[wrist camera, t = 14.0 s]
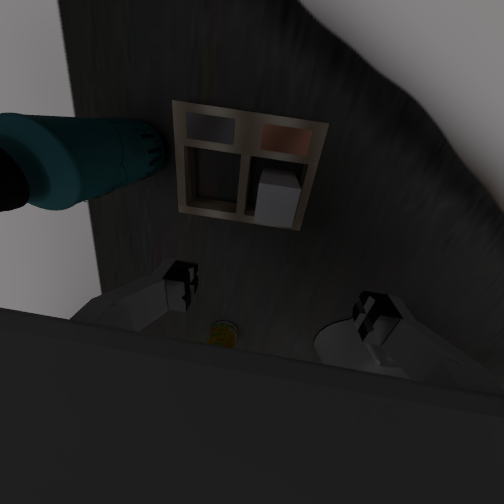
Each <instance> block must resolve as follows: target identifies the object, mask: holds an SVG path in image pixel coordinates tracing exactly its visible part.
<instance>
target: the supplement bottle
mask: <svg viewBox="0 0 504 504" xmlns="http://www.w3.org/2000/svg"><path fill="white" fill-rule="evenodd" d="M236 338H237V328H236V326H235V325H233V324H232V323H230V322H227V321H220V322H217V323H216V324H214V326H213V328H212V331H211V335H210V338H209V341H208V344H211V345H217V346H223V347H229V348H234V349H235V343H236Z"/></svg>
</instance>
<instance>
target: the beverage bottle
mask: <svg viewBox="0 0 504 504" xmlns="http://www.w3.org/2000/svg"><path fill="white" fill-rule="evenodd" d="M115 118H116V117H114V118H111V116H110V118H106V117H105V118H79V117H59V116H40V115H23V114H17V113H1V114H0V212H2V211H9V210H13V209H17V208H20V207H22V206H24V205H25V204H26V203H29V204H31V205H34V206H37V207H39V208H43V209H47V210H64V209H67V208H70V207H72V206H74V205H75V204H77V203H80V202H82V201H84V202H86V201H85V200H89V199H91V198H95V197H96V198H98V197H97V196H99V195H101V194H104V193H106V192H108V193H110V192H111V191H113V190H114V189H116V188H117V189H118V188H119V189H121V188H120V187H121V186H124V187H126V186H125V185H128V184H129V183H132V182H134V181H136V182H137V180H140V179H141V180H142V179H144V178H145V179H146V178H147V177H149V176H152V175H154V173H156V172H158V171H159V170H160V169H162V168H161V167H163V166H162V165H163V163H164V160H165V148H164V144H163V141H162V139H161V138H160V136H159V134H158V133H157V132H156V131H155V130H154V129H153V128H152V127H151V126H149V125H148V123H145V122H142V121H143V120H142V121H141V120H135V119H129V117H128V119H124V118H123V119H119V118H118V119H115ZM134 183H135V182H134ZM130 185H131V184H130ZM109 191H110V192H109ZM114 191H115V190H114ZM105 195H106V194H105ZM100 197H101V196H100Z"/></svg>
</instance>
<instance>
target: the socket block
mask: <svg viewBox="0 0 504 504" xmlns="http://www.w3.org/2000/svg"><path fill="white" fill-rule="evenodd" d="M172 106H173V123H174V139H175V156H176V172H177V189H178V205H179V212H182V213H188V214H195V215H201V216H207V217H214V218H220V219H227V220H233V221H239V222H246V223H252V224H259V225H265V226H271V227H278V228H284V229H291V230H297V231H300V228H301V224H302V221H303V217H304V214H305V210H306V206H307V203H308V199H309V195H310V192H311V188H312V184H313V181H314V177H315V174H316V170H317V166H318V163H319V159H320V155H321V152H322V148H323V144H324V141H325V137H326V133H327V130H328V126H329V123H322V122H315V121H309V120H302V119H295V118H289V117H282V116H275V115H268V114H262V113H255V112H248V111H242V110H235V109H228V108H222V107H215V106H208V105H201V104H195V103H188V102H181V101H175V100H172ZM195 147H197V148H203V149H210V150H216V151H223V152H230V153H236V154H241V164H240V175H239V186H238V197H237V203H232V202H226V201H220V200H213V199H207V198H200V197H196V157H195ZM253 156H256V157H263V158H269V159H276V160H282V161H289V162H295V163H302V164H303V167H302V171H301V175H300V179H299V185H300V188H301V192H300V196H299V200H298V204H297V208H296V212H295V216H294V220H293V224H292V228H290V227H284V226H277V225H271V224H265V223H258V222H254V215H255V209H256V206H252V205H247V202H248V194H249V185H250V177H251V168H252V160H253Z"/></svg>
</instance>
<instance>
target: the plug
mask: <svg viewBox="0 0 504 504" xmlns="http://www.w3.org/2000/svg"><path fill="white" fill-rule="evenodd" d="M300 192H301V188H300V185H299V183H298V180H297V178H296V176H295V173H294V171H288V170H281V169H275V168H268V167H263V171H262V174H261V178H260V182H259V188H258V195H257V202H256V209H255V215H254V222H258V223H265V224H271V225H277V226H284V227H290V228H292V224H293V220H294V216H295V212H296V208H297V204H298V200H299V196H300Z"/></svg>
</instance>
